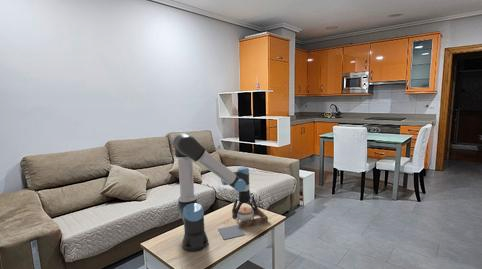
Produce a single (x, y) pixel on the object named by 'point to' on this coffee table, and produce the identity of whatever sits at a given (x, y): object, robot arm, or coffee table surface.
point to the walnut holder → (253, 222)
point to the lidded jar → (245, 213)
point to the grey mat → (231, 232)
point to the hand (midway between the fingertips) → (245, 220)
